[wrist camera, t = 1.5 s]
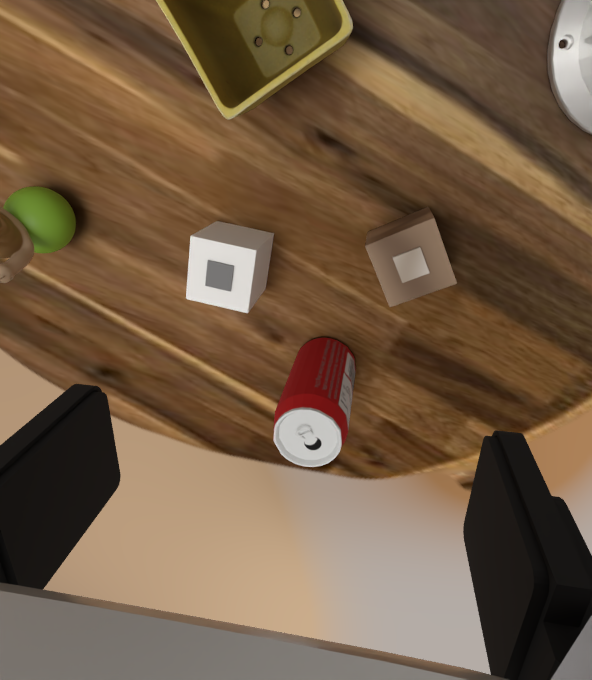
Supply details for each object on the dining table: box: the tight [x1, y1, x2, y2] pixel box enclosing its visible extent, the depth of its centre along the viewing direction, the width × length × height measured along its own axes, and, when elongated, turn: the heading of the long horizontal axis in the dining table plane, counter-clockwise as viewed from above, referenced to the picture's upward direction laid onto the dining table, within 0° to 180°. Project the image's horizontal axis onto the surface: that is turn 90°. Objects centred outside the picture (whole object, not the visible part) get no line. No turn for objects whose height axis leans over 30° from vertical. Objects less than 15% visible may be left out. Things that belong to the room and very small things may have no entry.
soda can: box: [274, 338, 356, 467], centre depth 38 cm, size 6×6×12 cm
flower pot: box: [156, 0, 353, 120], centre depth 29 cm, size 9×9×9 cm
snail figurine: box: [0, 186, 76, 283], centre depth 36 cm, size 5×6×12 cm
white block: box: [186, 221, 274, 313], centre depth 38 cm, size 5×5×6 cm
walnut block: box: [365, 207, 457, 307], centre depth 35 cm, size 5×5×5 cm
